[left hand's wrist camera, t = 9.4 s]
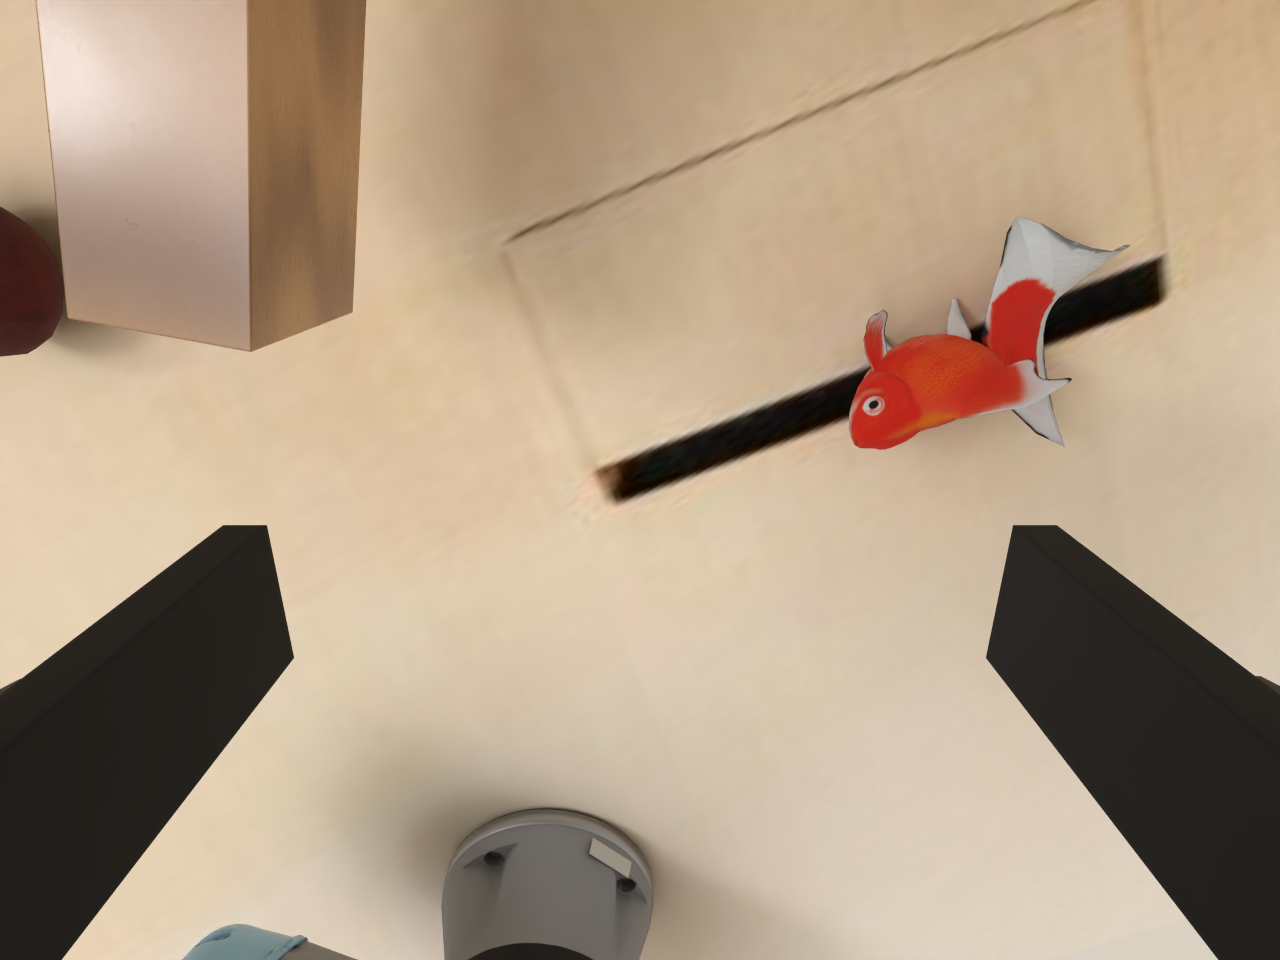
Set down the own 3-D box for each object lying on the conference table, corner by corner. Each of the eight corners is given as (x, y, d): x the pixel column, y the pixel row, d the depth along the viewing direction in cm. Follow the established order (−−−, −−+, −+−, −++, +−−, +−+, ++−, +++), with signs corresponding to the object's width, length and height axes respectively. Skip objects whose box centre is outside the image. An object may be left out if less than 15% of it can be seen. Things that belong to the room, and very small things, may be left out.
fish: (789, 250, 32) (968, 327, 25) (1029, 158, 37) (1236, 201, 30) (790, 438, 39) (931, 541, 32) (992, 340, 44) (1154, 411, 37)
